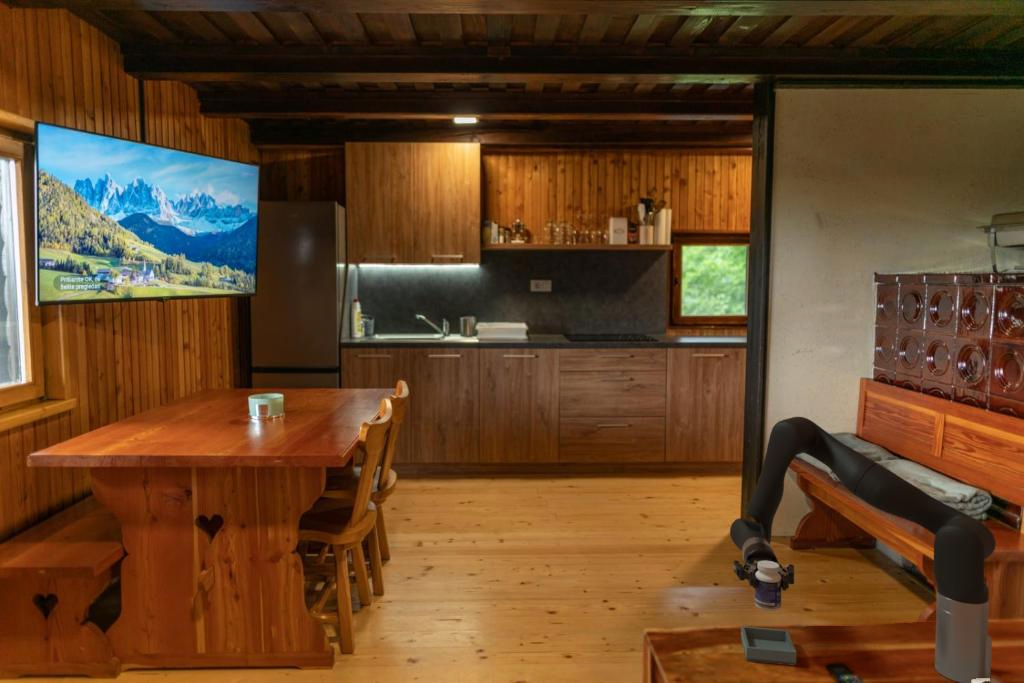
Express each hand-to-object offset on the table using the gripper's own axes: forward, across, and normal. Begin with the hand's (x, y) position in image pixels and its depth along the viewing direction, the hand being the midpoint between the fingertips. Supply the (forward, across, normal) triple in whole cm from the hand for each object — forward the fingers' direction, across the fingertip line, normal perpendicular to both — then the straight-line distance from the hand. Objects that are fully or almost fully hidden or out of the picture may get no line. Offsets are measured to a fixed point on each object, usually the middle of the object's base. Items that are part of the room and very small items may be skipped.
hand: (770, 585), depth 153 cm
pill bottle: (-2, 0, +6) cm, 7 cm away
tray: (-2, 0, +17) cm, 17 cm away
